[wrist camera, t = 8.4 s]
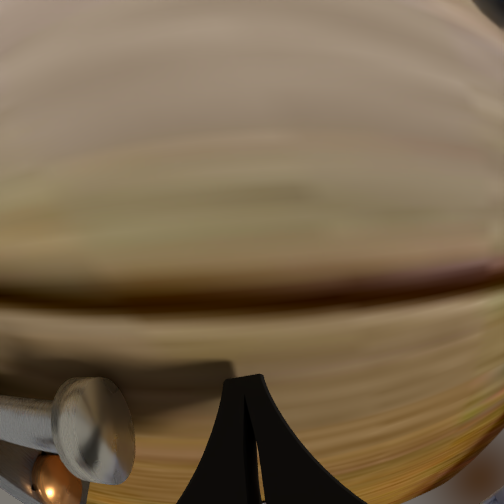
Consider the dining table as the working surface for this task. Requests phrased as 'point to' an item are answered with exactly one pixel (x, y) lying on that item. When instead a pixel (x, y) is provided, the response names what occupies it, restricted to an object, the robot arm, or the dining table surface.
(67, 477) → the pin
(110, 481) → the pin
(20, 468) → the block
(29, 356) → the dining table surface
